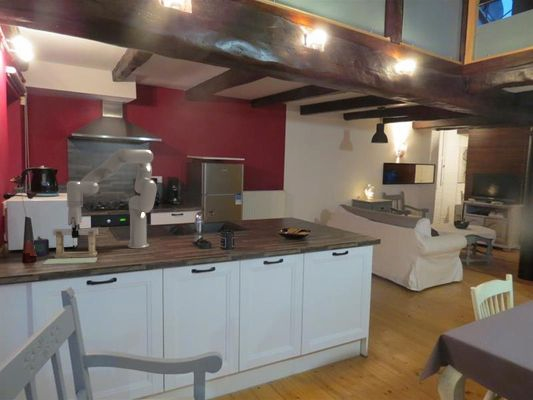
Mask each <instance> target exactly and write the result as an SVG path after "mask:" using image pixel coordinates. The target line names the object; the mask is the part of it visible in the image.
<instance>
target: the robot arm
mask: <svg viewBox="0 0 533 400" xmlns="http://www.w3.org/2000/svg"><path fill="white" fill-rule="evenodd" d="M154 157H155V156H154V154H153V152H152V150H150V149H146V148H135V149H134V148H118V149H117V150H115V151H114V152H113V153H112V154H111V155H110V156H109V157H108V158H106V160H105V161H103V163H101V164H100V165H98V166H97V167H95V169H93V170H91V171H90V172H89V173H87V174H86V175H85V176H84V177H83V178H82V179H81V180H80V181H79V180H75V181H74V180H73V181H72V180H70V181H68V182H66V203H67V204H66V206H67V208H68V210H67V213H68V214H67V225H68V226H71V229H72V235H71V238H72V239H78V238H79V237H81V235H78V229H81V224H82V221H83V220H82V217H83V216H82V214H83V213H82V207H83V206H84V201H83V199H84V198H83V195H94V194H97V193H99V191H100V186H99V183H100V182H101V181H103V180H105V179H107V178H110V177H112V176H114V175H116V173H117V172H118V171H119V170H120V169H121V168H122V167H123V166H124V165H125V164H133V165H134V164H135V165H136V166H137V174H136V178H135V181H134V182H135V183H134V187H133V188H134V192H136V193H137V194H140V195H134V196H132V197H131V198H130V199H129V200H128V211H129V219H130V220H129V221H130V222H129V223H130V224H129V229H130V230H129V233H130V235H129V236H130V237H129V238H130V239H129V241H130V242H129V243H128V244H127V247H128V248H129V249H144V248H147V247H150V244H149V242H147V213H149V212H151V211H152V210H153V208H154V205H155V201H156V198H157V197H156V196H157V192H158V191H157V190H158V185H157V184H156V182H155V181H154V180H152V174H153V168H152V164H151V163H152V162H153V160H154Z"/></svg>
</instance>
